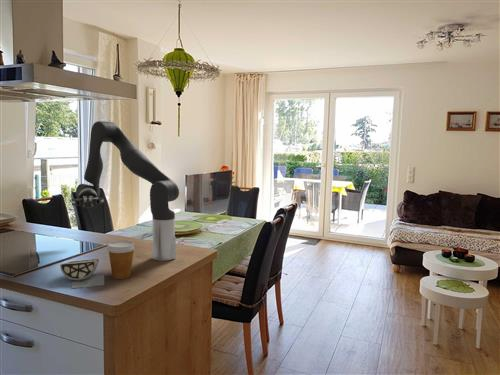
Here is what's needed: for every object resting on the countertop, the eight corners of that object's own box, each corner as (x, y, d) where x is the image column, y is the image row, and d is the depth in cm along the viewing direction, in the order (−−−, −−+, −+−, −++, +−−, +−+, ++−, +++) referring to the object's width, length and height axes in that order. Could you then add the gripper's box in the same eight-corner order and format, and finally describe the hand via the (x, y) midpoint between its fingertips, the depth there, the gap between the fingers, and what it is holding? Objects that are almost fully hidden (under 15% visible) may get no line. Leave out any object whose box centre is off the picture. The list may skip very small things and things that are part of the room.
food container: (68, 278, 137) (58, 283, 127) (67, 261, 137) (58, 264, 127) (103, 275, 139) (97, 279, 129) (102, 258, 139) (96, 261, 130)
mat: (103, 275, 136) (103, 275, 136) (104, 285, 127) (104, 284, 127) (73, 278, 132) (73, 277, 132) (71, 288, 123) (71, 287, 123)
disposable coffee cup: (106, 273, 139) (106, 241, 138) (133, 270, 143) (133, 239, 142) (108, 281, 130) (108, 248, 129) (136, 278, 134) (136, 246, 133)
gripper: (70, 190, 161) (69, 196, 145) (103, 188, 166) (105, 194, 150) (71, 207, 162) (70, 215, 146) (104, 205, 167) (106, 212, 152)
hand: (88, 204), depth 148 cm, fingers closed
